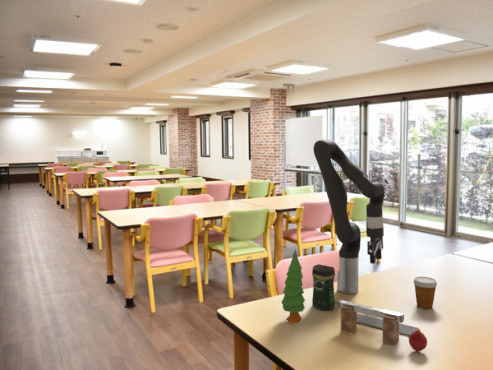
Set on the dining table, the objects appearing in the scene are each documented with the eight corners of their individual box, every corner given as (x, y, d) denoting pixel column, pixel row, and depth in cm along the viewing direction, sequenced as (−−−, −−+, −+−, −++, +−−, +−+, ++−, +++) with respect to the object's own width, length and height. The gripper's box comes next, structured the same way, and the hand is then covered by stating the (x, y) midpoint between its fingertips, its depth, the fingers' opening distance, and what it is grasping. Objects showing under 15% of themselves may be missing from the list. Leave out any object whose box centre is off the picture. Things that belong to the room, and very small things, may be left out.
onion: (425, 357, 136) (425, 334, 136) (407, 353, 139) (407, 330, 139) (428, 350, 141) (428, 327, 140) (410, 346, 144) (410, 324, 144)
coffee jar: (338, 307, 180) (338, 265, 179) (328, 312, 175) (328, 269, 173) (319, 301, 187) (319, 261, 185) (309, 306, 181) (309, 265, 180)
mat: (341, 319, 167) (341, 318, 167) (349, 312, 174) (349, 311, 174) (413, 337, 151) (413, 335, 151) (419, 329, 157) (419, 328, 157)
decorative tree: (301, 326, 161) (301, 251, 158) (278, 323, 164) (277, 250, 162) (306, 317, 170) (306, 246, 168) (284, 314, 173) (283, 244, 171)
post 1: (340, 330, 157) (340, 306, 156) (347, 325, 162) (347, 301, 161) (350, 333, 155) (350, 308, 154) (356, 327, 159) (357, 303, 159)
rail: (337, 308, 159) (337, 301, 159) (340, 305, 161) (340, 299, 161) (401, 323, 144) (401, 315, 144) (404, 320, 146) (404, 313, 146)
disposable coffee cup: (439, 311, 174) (439, 283, 173) (415, 310, 176) (415, 282, 175) (433, 303, 183) (434, 276, 182) (410, 301, 185) (411, 275, 184)
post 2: (382, 342, 147) (382, 316, 147) (387, 335, 152) (388, 310, 151) (393, 345, 145) (394, 318, 144) (399, 338, 150) (399, 313, 149)
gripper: (372, 223, 195) (373, 256, 196) (361, 228, 183) (362, 264, 184) (388, 224, 190) (389, 258, 191) (377, 229, 179) (378, 265, 180)
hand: (375, 261), depth 188 cm, fingers open, 8 cm apart
